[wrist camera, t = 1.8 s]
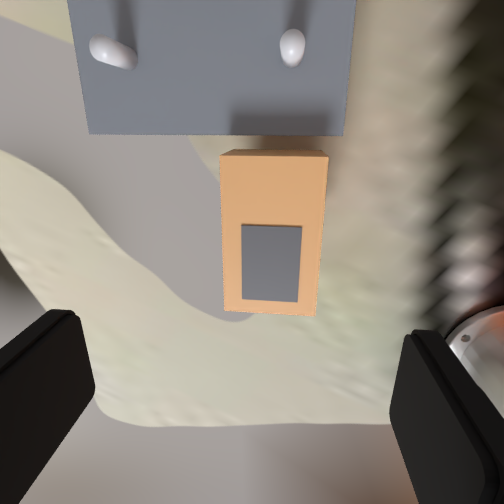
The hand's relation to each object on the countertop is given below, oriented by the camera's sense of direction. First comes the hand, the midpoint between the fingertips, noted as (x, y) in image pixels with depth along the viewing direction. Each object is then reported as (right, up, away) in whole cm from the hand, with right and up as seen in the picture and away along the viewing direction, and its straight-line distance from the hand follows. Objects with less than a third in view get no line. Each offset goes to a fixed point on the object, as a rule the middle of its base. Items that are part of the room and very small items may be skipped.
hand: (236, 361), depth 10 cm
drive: (+2, +6, +15) cm, 16 cm away
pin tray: (-2, +18, +9) cm, 21 cm away
